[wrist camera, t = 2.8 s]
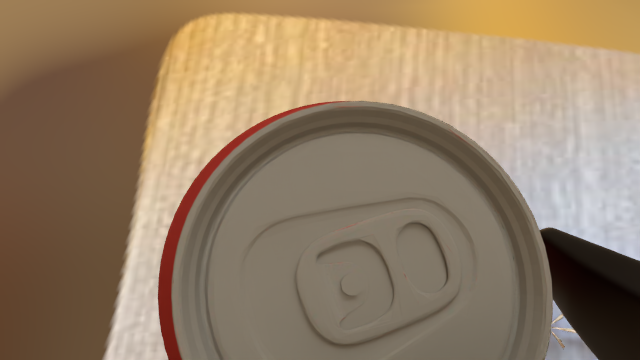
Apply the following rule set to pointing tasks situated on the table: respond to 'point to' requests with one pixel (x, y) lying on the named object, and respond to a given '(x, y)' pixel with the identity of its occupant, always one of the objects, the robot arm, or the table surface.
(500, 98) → the table surface
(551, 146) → the table surface
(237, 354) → the beverage can
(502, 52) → the table surface
